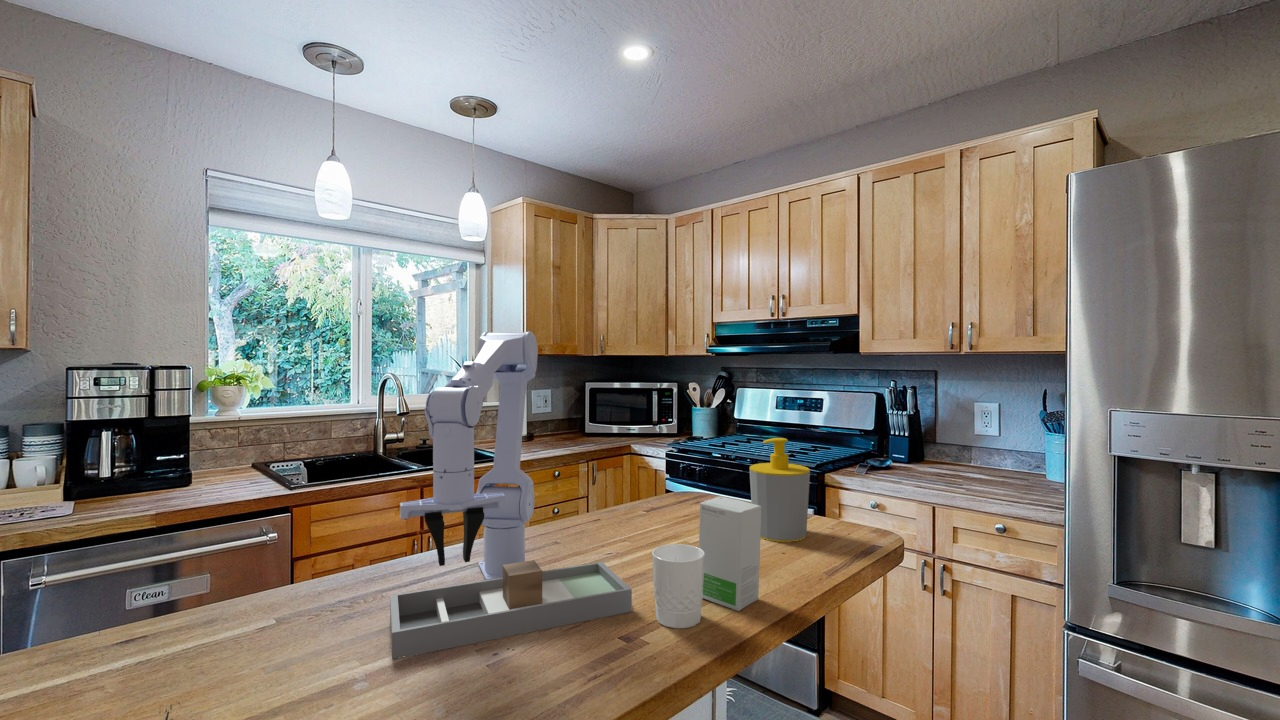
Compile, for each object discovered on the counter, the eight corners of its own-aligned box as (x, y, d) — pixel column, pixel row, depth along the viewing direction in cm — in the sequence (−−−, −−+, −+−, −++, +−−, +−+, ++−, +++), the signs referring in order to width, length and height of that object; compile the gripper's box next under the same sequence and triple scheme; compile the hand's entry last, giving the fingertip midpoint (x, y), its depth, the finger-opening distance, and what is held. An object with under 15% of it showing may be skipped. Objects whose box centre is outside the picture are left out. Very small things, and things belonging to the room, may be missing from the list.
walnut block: (502, 596, 90) (502, 564, 90) (534, 591, 92) (534, 560, 92) (509, 609, 85) (509, 575, 85) (542, 603, 87) (542, 570, 87)
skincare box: (696, 597, 94) (696, 502, 94) (719, 585, 99) (719, 495, 99) (740, 612, 89) (740, 511, 89) (762, 599, 94) (762, 503, 94)
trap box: (390, 618, 87) (390, 595, 87) (602, 581, 101) (602, 561, 101) (392, 659, 75) (392, 632, 75) (631, 611, 89) (631, 589, 89)
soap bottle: (742, 526, 134) (742, 435, 134) (796, 524, 135) (796, 434, 135) (760, 544, 121) (760, 443, 121) (819, 542, 122) (819, 442, 122)
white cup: (702, 633, 82) (702, 563, 82) (647, 628, 84) (647, 559, 84) (706, 609, 90) (706, 545, 90) (657, 605, 91) (656, 542, 91)
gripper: (401, 478, 78) (401, 579, 78) (509, 469, 84) (509, 563, 84) (399, 469, 84) (399, 562, 84) (500, 461, 90) (500, 548, 90)
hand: (454, 561), depth 84 cm, fingers open, 3 cm apart
